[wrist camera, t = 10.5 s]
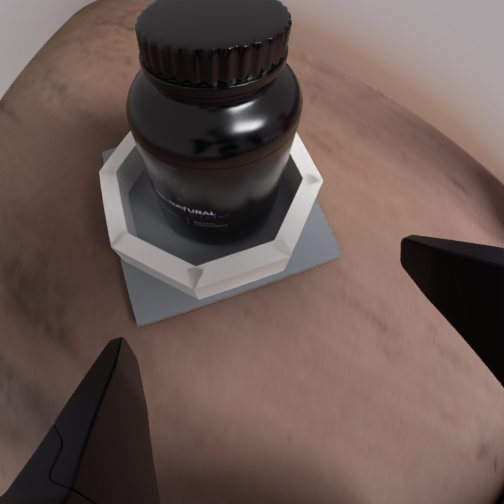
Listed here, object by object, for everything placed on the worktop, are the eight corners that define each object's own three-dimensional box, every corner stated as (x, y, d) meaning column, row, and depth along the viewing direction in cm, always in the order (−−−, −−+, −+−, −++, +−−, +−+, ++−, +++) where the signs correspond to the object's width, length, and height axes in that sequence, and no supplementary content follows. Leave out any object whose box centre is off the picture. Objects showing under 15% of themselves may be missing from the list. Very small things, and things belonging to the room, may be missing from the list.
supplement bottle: (167, 259, 17) (80, 98, 6) (157, 159, 19) (111, -8, 8) (289, 238, 18) (361, 66, 7) (262, 143, 20) (287, -27, 9)
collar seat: (339, 258, 19) (357, 239, 16) (140, 326, 17) (122, 319, 14) (265, 110, 22) (269, 80, 19) (104, 156, 20) (90, 129, 17)
